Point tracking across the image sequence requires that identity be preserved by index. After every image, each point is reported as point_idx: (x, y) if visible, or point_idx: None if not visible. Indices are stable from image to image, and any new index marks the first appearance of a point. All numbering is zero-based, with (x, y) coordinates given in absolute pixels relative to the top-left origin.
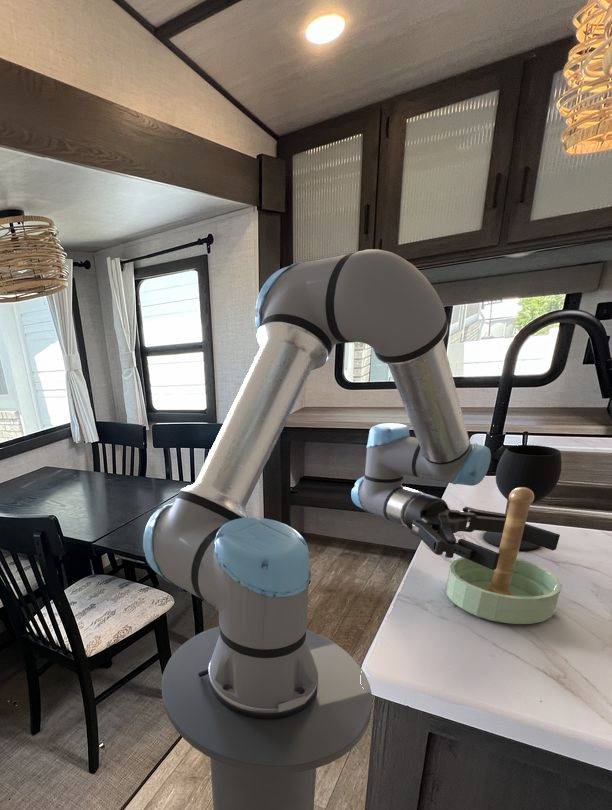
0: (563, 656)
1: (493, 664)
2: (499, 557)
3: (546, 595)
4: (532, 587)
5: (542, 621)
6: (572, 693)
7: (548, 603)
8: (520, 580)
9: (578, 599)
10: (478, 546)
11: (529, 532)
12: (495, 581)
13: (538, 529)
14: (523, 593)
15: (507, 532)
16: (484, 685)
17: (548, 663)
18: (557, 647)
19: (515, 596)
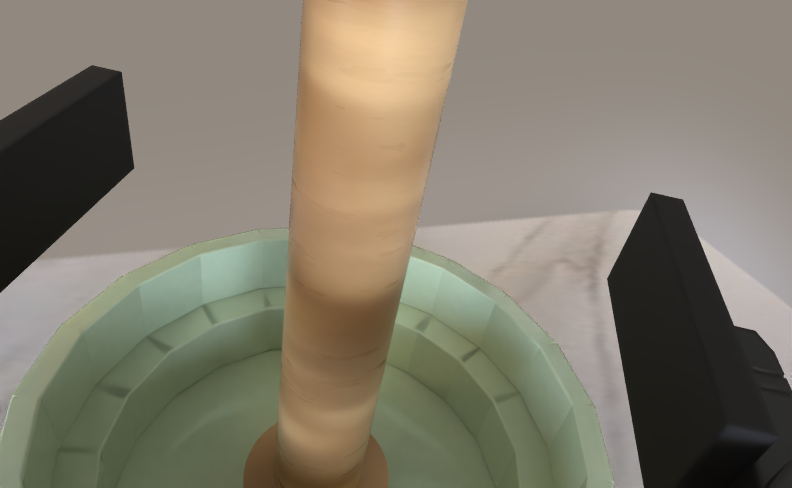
0: (485, 274)
1: None
2: (390, 335)
3: None
4: (165, 379)
5: None
6: (602, 244)
7: None
8: (122, 430)
9: (64, 306)
10: (702, 284)
11: (15, 194)
12: (367, 439)
13: (39, 122)
14: (177, 428)
15: (433, 148)
16: (783, 353)
17: (549, 288)
18: None
19: (505, 305)
